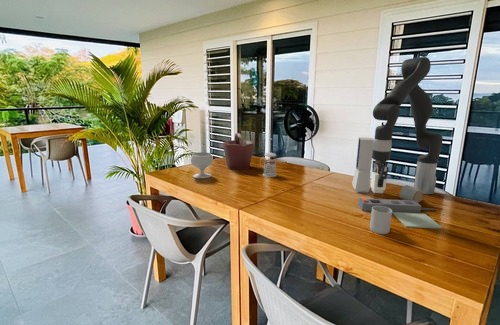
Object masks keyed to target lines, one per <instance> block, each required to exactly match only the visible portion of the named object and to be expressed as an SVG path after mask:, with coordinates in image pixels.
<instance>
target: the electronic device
mask: <svg viewBox="0 0 500 325" xmlns="http://www.w3.org/2000/svg"><path fill="white" fill-rule="evenodd" d="M374 139H375V138H374V137H367V136H366V137H364V136H363V137H362V136H360V137H358V141H357V142H358V143H357V153H356V164H355V170H354V174H353V178H352V187H353V189H354V191H355V192H356V193H364V194H369V193H370V187H371V186H370V185H371V175H372V171H371V170H372V164H373V159H372V153H373V144H374Z"/></svg>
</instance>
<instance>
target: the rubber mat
mask: <svg viewBox="0 0 500 325" xmlns="http://www.w3.org/2000/svg"><path fill="white" fill-rule="evenodd" d="M392 216H394V217H395V218H397V220H398V221H399V222H401V224H402V225H403V226H404V227H405V228H416V229H417V228H420V229H443V227H442V226H441V225H440V224H439V223H437V222H436V221H435V220H434V219H433V218H431V217H430V216H428V215H427V214H426V213H425V212H424V213H423V212H421V213H404V212H392Z"/></svg>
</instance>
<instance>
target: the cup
mask: <svg viewBox="0 0 500 325" xmlns="http://www.w3.org/2000/svg"><path fill="white" fill-rule="evenodd" d="M370 212H371V213H370V224H369V229H370V231H371V232H373V233H375V234H378V235H388V234H389V233H390V230H391V223H392V216H393V214H392V210H391V209H390V208H387V207H384V206H373V207H372V211H370Z"/></svg>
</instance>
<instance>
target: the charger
mask: <svg viewBox="0 0 500 325" xmlns="http://www.w3.org/2000/svg"><path fill="white" fill-rule="evenodd" d="M382 176H383V175H382ZM387 178H388V177H387ZM387 178H386V179H384V182H383V187H378V174H377V172H372V171H371V175H370V186H369V187H371V190H370V191H371V192H373V194H384V191H385V190H386V186H387Z"/></svg>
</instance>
